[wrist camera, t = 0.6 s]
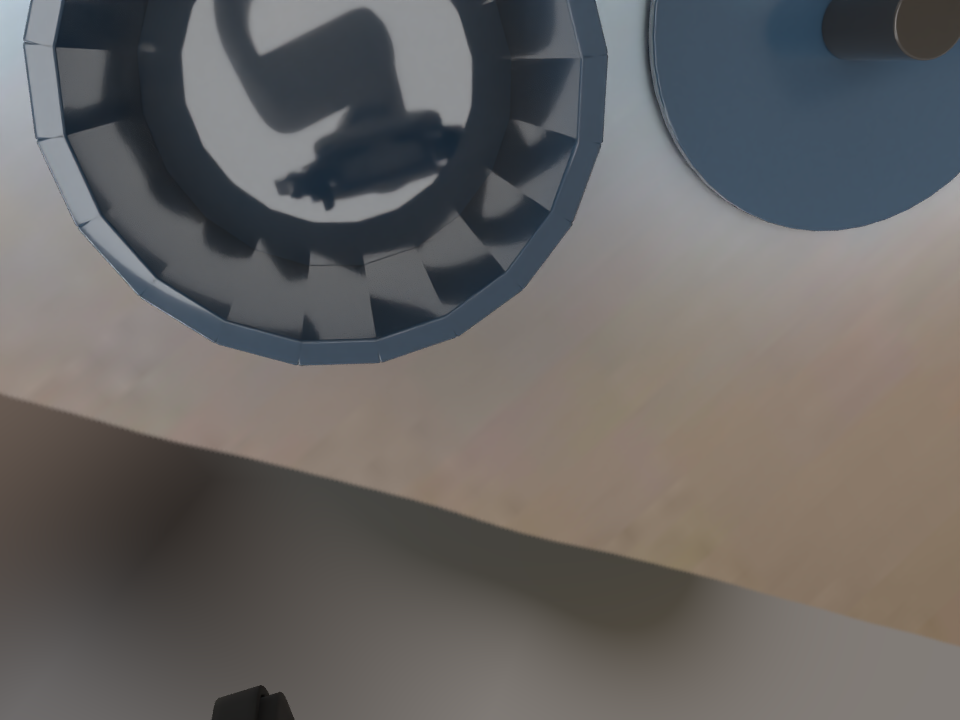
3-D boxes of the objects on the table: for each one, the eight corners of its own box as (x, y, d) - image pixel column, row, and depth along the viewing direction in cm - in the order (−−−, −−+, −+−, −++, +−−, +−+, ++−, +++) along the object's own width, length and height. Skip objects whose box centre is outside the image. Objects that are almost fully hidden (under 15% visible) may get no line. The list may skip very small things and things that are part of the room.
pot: (175, -214, 31) (97, -350, 21) (583, -46, 35) (689, -91, 25) (80, 215, 35) (-25, 280, 25) (456, 325, 39) (501, 420, 28)
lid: (743, -285, 33) (830, -358, 27) (1093, -108, 37) (1234, -139, 31) (583, 157, 37) (629, 174, 32) (913, 272, 41) (1008, 307, 36)
